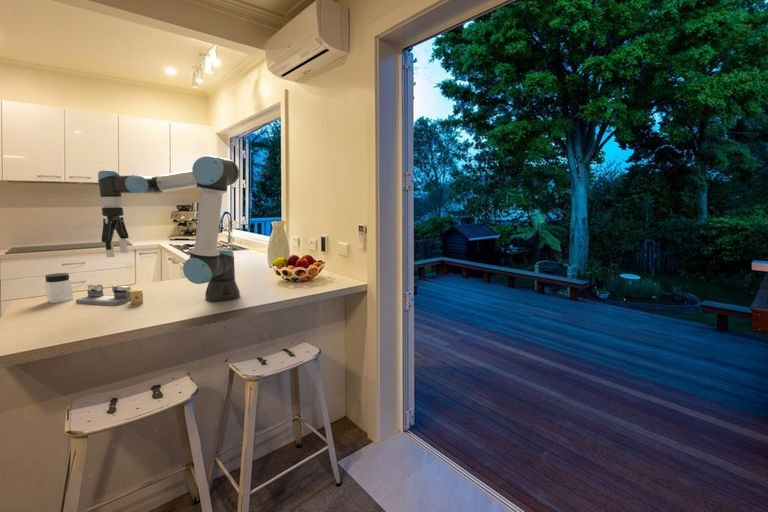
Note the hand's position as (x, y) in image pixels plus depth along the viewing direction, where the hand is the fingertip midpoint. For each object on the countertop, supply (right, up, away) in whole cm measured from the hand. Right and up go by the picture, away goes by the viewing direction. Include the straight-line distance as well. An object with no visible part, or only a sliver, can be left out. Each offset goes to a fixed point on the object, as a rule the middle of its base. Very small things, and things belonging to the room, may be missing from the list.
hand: (117, 254), depth 166 cm
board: (-8, -21, +3) cm, 23 cm away
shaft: (-14, -19, +6) cm, 25 cm away
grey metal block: (0, -20, +4) cm, 20 cm away
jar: (-29, -21, +4) cm, 36 cm away
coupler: (+8, -22, +1) cm, 23 cm away
